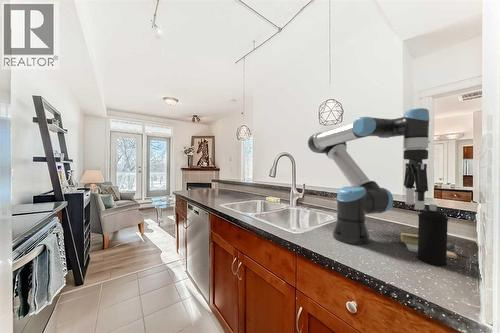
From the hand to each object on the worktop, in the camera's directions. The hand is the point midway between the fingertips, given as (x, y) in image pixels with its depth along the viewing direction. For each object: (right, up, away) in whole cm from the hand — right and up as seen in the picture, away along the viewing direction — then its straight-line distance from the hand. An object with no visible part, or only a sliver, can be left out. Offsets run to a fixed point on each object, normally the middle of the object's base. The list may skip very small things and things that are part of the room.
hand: (414, 206), depth 82 cm
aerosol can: (0, -18, -8) cm, 20 cm away
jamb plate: (+5, -17, +5) cm, 19 cm away
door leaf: (+11, -17, +2) cm, 21 cm away
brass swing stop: (+5, -16, +5) cm, 18 cm away
